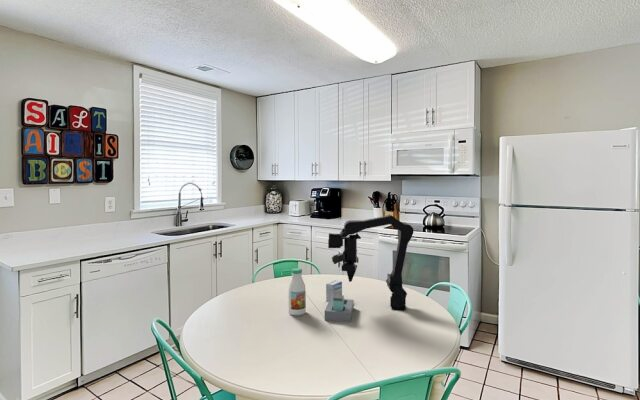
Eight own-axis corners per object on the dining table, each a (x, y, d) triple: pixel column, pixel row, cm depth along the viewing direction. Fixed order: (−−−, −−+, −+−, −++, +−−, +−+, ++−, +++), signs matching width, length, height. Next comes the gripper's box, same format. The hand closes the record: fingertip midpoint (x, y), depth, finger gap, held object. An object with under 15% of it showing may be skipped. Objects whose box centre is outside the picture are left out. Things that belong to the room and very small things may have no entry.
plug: (343, 315, 158) (343, 295, 157) (342, 319, 154) (342, 298, 153) (334, 315, 158) (334, 294, 158) (333, 318, 154) (333, 297, 154)
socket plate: (353, 308, 167) (353, 299, 167) (350, 321, 151) (350, 312, 151) (330, 306, 169) (330, 298, 169) (324, 320, 153) (324, 311, 153)
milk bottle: (285, 314, 160) (284, 270, 158) (294, 308, 167) (293, 266, 165) (300, 317, 156) (299, 272, 155) (308, 311, 163) (308, 268, 162)
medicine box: (333, 302, 174) (333, 285, 173) (325, 300, 177) (325, 283, 176) (342, 298, 180) (342, 281, 180) (335, 296, 183) (335, 279, 182)
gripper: (335, 243, 176) (335, 275, 177) (330, 251, 157) (330, 286, 158) (358, 244, 174) (358, 276, 175) (355, 252, 155) (355, 288, 156)
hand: (350, 281), depth 166 cm, fingers closed
